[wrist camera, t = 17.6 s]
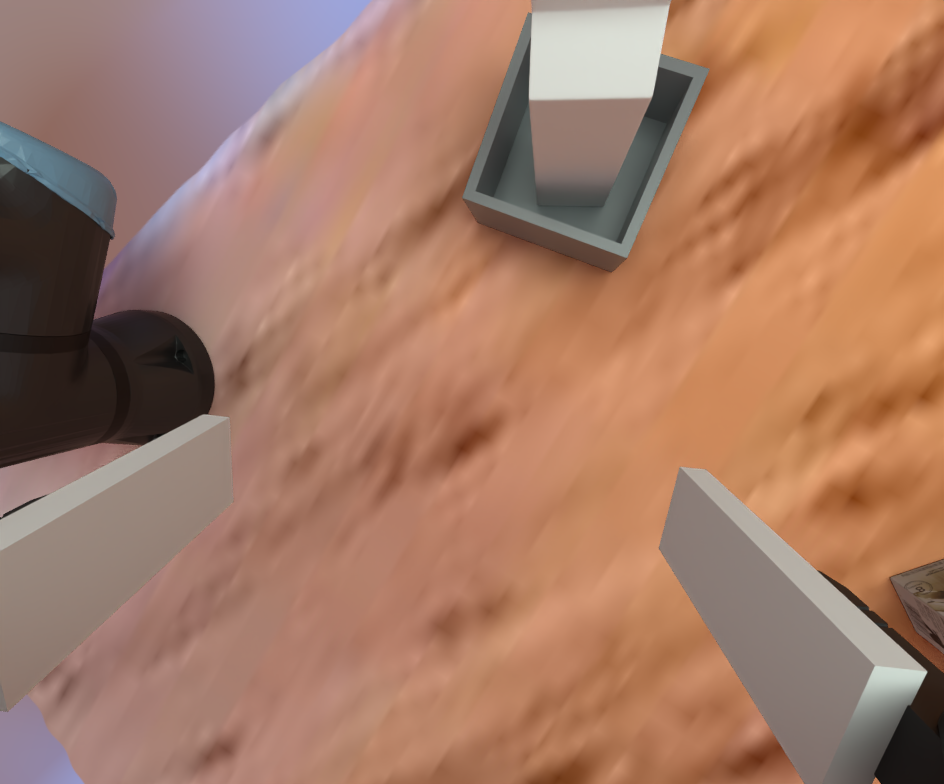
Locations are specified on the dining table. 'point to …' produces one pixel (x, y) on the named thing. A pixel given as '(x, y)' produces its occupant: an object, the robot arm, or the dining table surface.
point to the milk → (589, 91)
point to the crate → (576, 227)
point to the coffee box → (924, 600)
